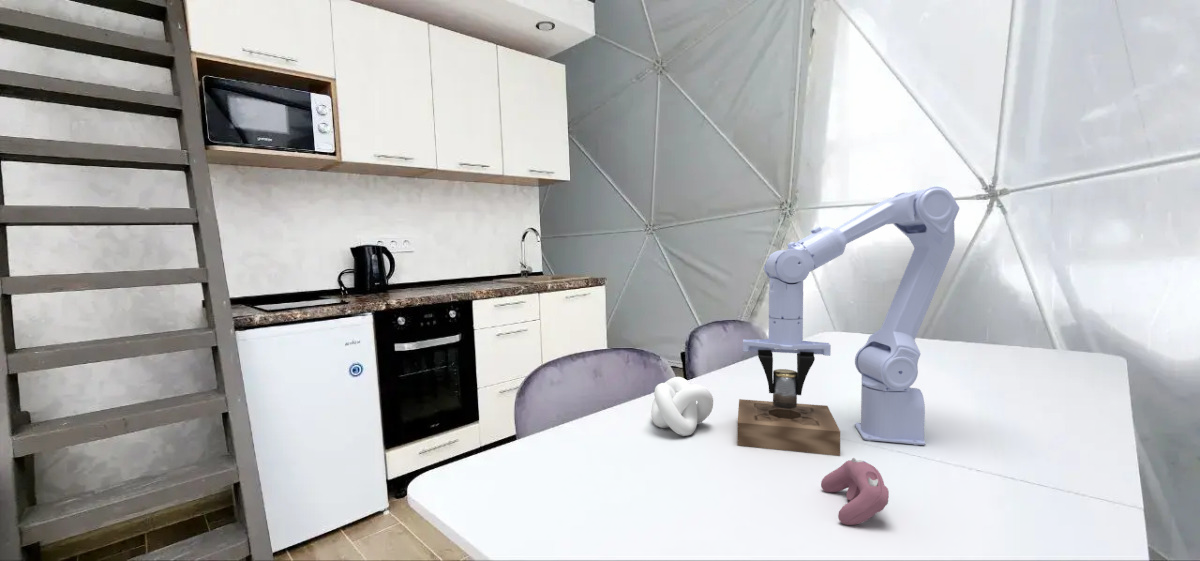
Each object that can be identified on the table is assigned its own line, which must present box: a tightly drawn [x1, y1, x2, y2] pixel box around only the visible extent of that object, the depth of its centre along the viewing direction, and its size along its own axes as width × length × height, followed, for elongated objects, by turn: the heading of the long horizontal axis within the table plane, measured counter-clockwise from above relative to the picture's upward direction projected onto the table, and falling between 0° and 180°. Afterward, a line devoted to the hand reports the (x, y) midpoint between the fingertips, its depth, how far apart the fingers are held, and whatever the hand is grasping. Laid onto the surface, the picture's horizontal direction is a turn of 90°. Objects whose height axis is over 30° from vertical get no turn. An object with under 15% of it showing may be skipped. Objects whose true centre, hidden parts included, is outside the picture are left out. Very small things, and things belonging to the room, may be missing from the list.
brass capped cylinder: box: [772, 368, 798, 409], centre depth 88 cm, size 4×4×6 cm
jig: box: [736, 398, 841, 457], centre depth 88 cm, size 16×14×4 cm
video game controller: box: [820, 457, 890, 526], centre depth 63 cm, size 10×5×7 cm, turn 169°
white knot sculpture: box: [650, 376, 714, 437], centre depth 93 cm, size 11×12×9 cm
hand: (784, 392), depth 88 cm, fingers closed on brass capped cylinder, 4 cm apart
